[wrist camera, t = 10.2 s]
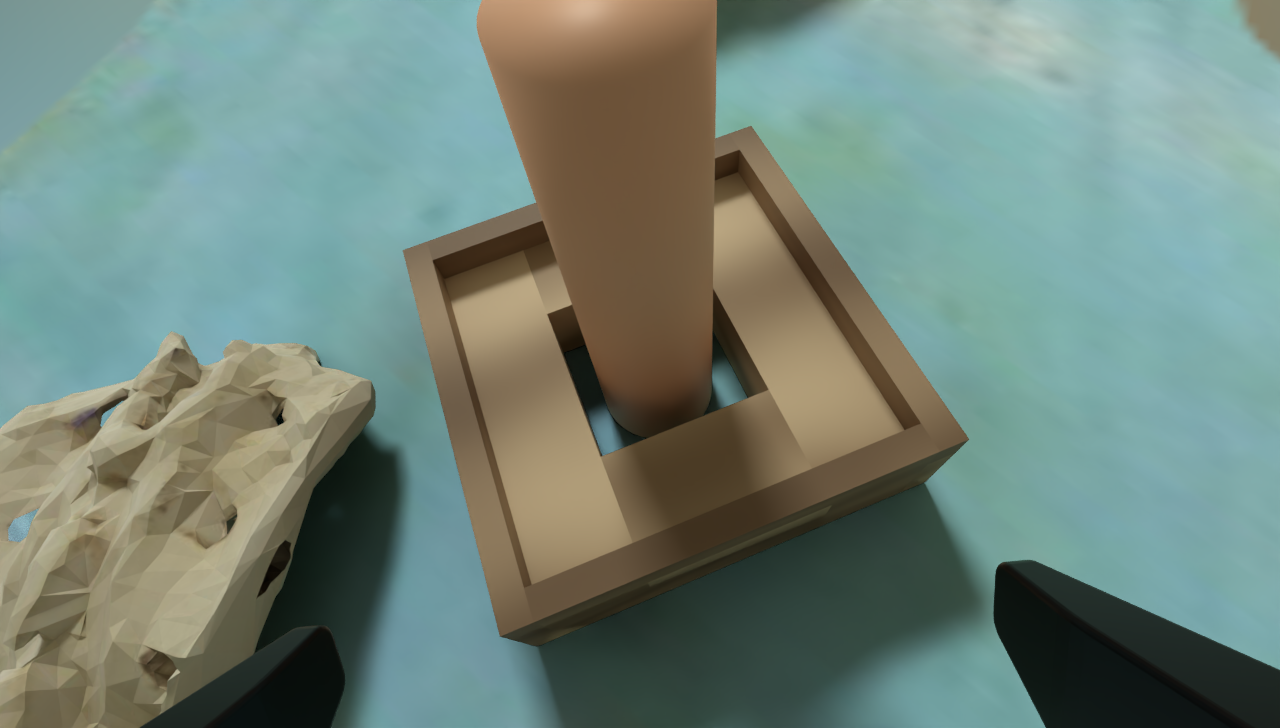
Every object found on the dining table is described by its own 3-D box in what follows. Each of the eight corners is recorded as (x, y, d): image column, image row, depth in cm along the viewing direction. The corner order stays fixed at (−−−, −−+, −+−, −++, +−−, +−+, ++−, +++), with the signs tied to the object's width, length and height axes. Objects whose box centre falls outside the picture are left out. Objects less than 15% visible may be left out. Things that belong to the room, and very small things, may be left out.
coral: (102, 1005, 15) (-174, 1140, 10) (-151, 719, 18) (-435, 723, 14) (477, 447, 20) (409, 373, 16) (226, 317, 24) (113, 227, 20)
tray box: (924, 482, 18) (969, 439, 15) (537, 646, 17) (500, 636, 14) (745, 199, 24) (751, 125, 21) (443, 310, 23) (402, 250, 20)
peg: (734, 391, 20) (769, -6, 9) (652, 460, 19) (572, 123, 8) (662, 323, 22) (612, -92, 10) (583, 385, 21) (432, 9, 9)
